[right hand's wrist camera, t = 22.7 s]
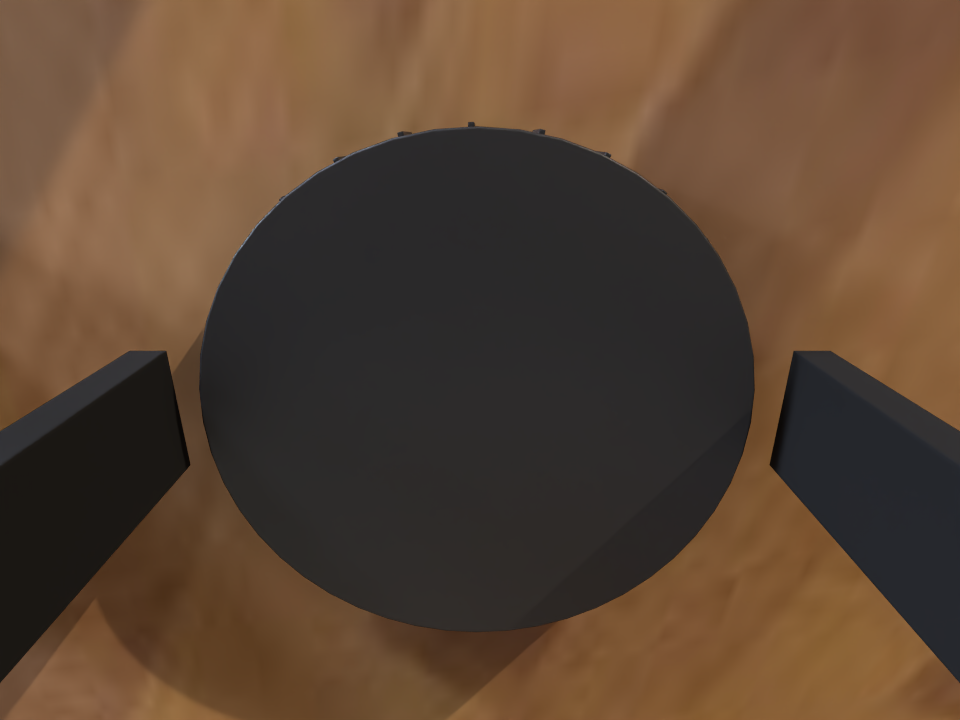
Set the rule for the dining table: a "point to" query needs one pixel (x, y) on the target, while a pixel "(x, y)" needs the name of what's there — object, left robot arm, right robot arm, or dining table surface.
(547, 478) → the lid
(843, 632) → the dining table surface
